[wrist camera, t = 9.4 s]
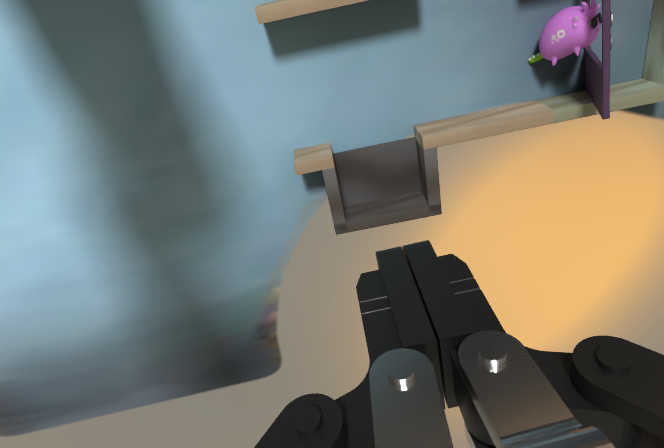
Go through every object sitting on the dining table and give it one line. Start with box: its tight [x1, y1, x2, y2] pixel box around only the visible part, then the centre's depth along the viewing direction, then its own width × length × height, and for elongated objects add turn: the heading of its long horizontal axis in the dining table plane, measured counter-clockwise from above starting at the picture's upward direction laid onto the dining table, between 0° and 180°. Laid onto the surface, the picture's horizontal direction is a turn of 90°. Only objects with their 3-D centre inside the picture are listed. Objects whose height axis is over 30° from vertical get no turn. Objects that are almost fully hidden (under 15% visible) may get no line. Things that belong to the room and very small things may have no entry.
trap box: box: [255, 0, 664, 234], centre depth 32 cm, size 24×30×3 cm
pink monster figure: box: [529, 0, 613, 119], centre depth 31 cm, size 7×5×9 cm
